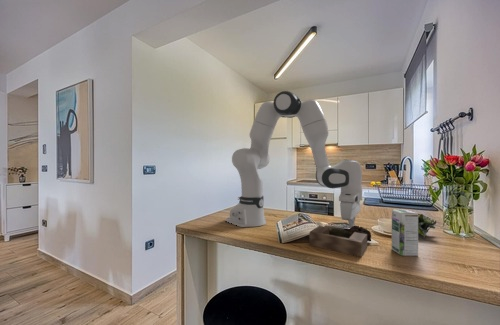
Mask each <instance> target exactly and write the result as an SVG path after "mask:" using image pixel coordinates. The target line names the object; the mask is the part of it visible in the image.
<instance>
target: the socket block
mask: <svg viewBox="0 0 500 325" xmlns="http://www.w3.org/2000/svg"><path fill="white" fill-rule="evenodd" d="M308 234H309V239H308V240H309V243H308V244H309V246H311V247H312V246H313V247H315V248H321V249H325V250H328V251H332V252H333V251H334V252H336V253H337V252H338V253H342V254H346V255H350V256H354V257H357V258H362V257H363V256H364V254H365V252H366V251H367V249H368V241H367V234H363V233H357V232H354V233H353V234H352V235H351V237H350V238H344V237H339V236H334V235H329V227H324V226H322V225H318V226H317V227H315V228H313V229H312V230H310V231H309V232H308Z"/></svg>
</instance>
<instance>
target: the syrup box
mask: <svg viewBox="0 0 500 325" xmlns="http://www.w3.org/2000/svg"><path fill="white" fill-rule="evenodd" d="M418 214H419V212H414V211H411V210H408V209H403V208H401V209H400V208H395V209H391V250H392V251H394V252H396V253H397V254H398V255H400V257H401V256H403V257H405V256H406V257H415V256H416V257H418V256H419V233H418Z"/></svg>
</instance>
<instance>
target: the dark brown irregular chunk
mask: <svg viewBox="0 0 500 325" xmlns="http://www.w3.org/2000/svg"><path fill="white" fill-rule="evenodd" d="M323 227H329V235H334V236H339V237H344V238H350V237H351V235H352V234H353V233H354V232H357V233H363V234H367V242H372V232H370V230H368V229H367V228H364V227H362V226H359V225H354V226H353V227H350V228H344V227H338V226H331V225H324V226H323Z"/></svg>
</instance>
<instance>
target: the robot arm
mask: <svg viewBox="0 0 500 325" xmlns="http://www.w3.org/2000/svg"><path fill="white" fill-rule="evenodd" d="M280 118H297V120H299V123H300V126H301V129H302V132H303V134H304V137H305V140H306V141H307V143H308V146H309V147H310V149H311V153H312V156H313V159H314V163H315V168H316V170H315V180H316V182H317V183H318V185H320V186H321V187H324V188H328V189H337V188H340V194H339V197H338V201H339V203H340V204H339V206H340V208H339V209H340V217H341V220H342V221H347V222H348V226H349V227H350V228H351V227H353V226H356V224H355V220H356V216H357V215H359V214H360V213H361V201H363V187H362V181H363V170H362V165H361V163H360V162H359V161H357V160H352V159H342V160H341V161H339V162H338V163H336V164H335V165H331V164H330V162H329V158H328V155H327V154H328V153H327V151H326V142H327V139H328V136H329V129H328V128H329V127H328V123H327V120H326V117H325V114H324V111H323V109H322V108H321V106H320V104H319V103H318V101H316V100H315V99H307V100H304V101H302V100H301V98H299V96H298V95H296V94H294V93H293V92H292V91H288V90H283V91H280V92H278V93H277V94H276V95H275V96H274V98H273V102H272V101H264V102H263V103H262V104H261V105H260V107H259V109H258V111H257V113H256V114H255V117H254V121H253V123H252V126H251V128H250V131H249V138H250V147H249V148H245V147H244V148H239V149H236V150H235V151H234V152H233V153H232V156H231V163H232V166H234V167H235V169H236V170H237V171H238V172H237V173H238V175H239V179H240V183H241V184H240V185H241V196H238V197H237V200H239V202H238V203H237V204H236V205H235V206H233V207H232V208H231V209H230V210H229V217H227V218H225V220H224V222H225V221H227V222H226V223H228V222H229V223H228V224H231V223H232V224H231V225H234V226H236V225H237V227H239V228H247V227H249V228H250V227H251V228H252V227H253V228H254V227H260V226H264V225H266V224H267V221H266V218H265V217H266V216H265V211H264V204H265V203H264V195H263V192H264V191H263V190H264V189H263V184H264V183H263V180H262V178H260V176H259V171H258V170H262V169H264V168H265V167H267V166H268V165H269V163H270V161H271V160H270V159H271V158H270V155H269V148H270V142H271V140H272V137H273V133H274V131H275V128H276V125H277V122H278V120H279V119H280Z"/></svg>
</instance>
